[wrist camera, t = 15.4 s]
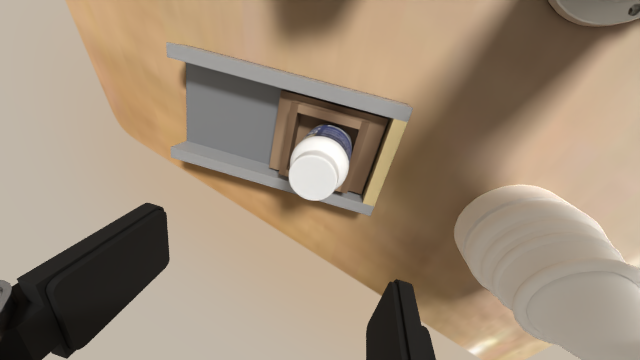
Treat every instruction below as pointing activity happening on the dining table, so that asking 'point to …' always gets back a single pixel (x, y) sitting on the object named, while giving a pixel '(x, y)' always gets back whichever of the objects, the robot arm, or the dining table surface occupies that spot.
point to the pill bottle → (320, 162)
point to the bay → (267, 120)
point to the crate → (309, 112)
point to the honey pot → (553, 271)
